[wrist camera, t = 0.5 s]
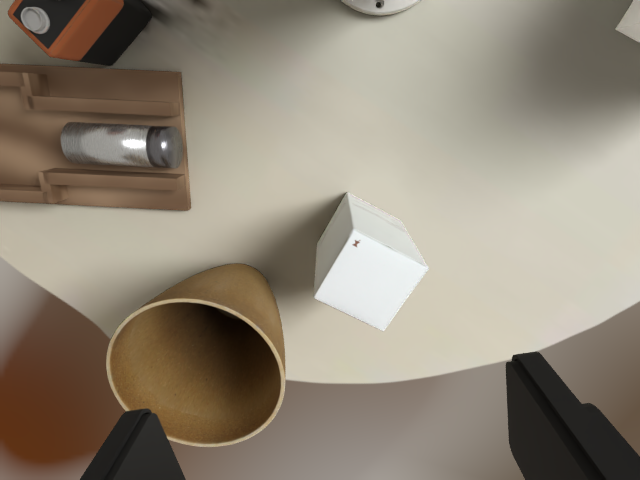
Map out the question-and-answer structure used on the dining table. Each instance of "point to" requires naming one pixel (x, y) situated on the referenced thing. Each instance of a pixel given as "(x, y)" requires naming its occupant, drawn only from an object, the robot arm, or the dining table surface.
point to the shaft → (122, 144)
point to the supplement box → (366, 263)
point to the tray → (91, 107)
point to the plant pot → (204, 357)
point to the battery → (81, 27)
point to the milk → (631, 22)
